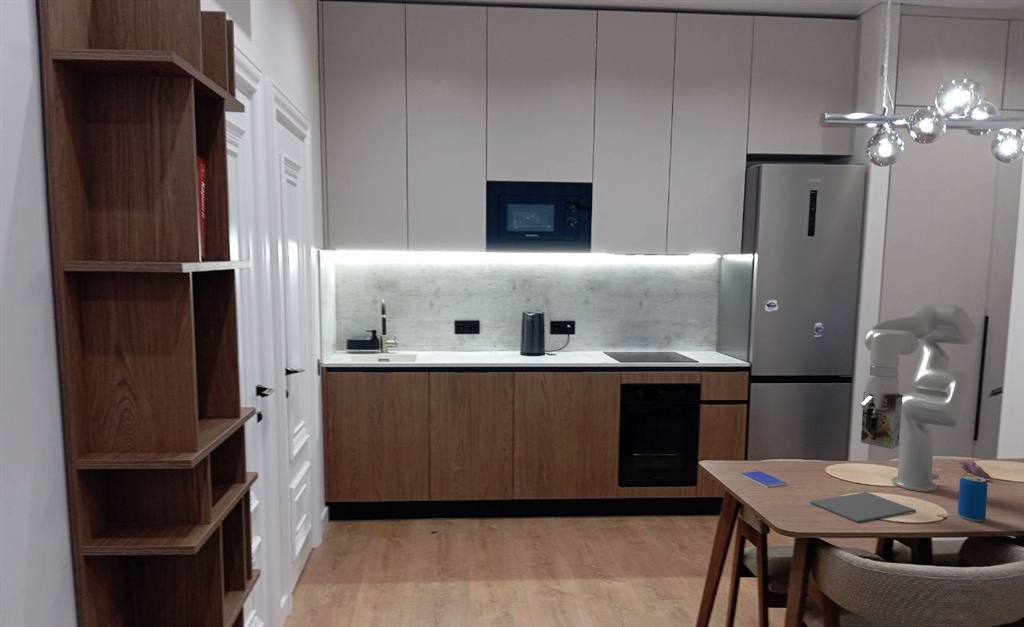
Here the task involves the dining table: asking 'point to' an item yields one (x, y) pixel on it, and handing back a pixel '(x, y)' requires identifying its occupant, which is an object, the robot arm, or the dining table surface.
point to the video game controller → (974, 469)
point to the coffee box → (884, 423)
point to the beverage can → (972, 498)
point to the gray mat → (862, 507)
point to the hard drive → (763, 479)
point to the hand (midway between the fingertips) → (880, 428)
